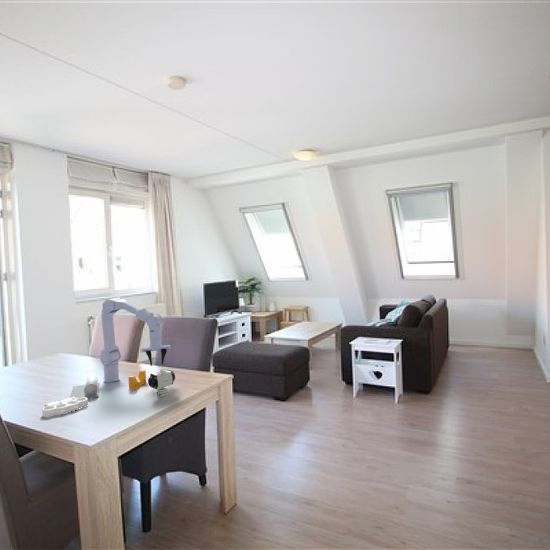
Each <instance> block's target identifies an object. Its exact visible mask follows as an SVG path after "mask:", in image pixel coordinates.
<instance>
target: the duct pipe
mask: <svg viewBox="0 0 550 550" xmlns="http://www.w3.org/2000/svg"><path fill="white" fill-rule="evenodd" d="M98 381H99V379H98V377H97V376H95V375H89V377H87V379H86V384H83V385H75V386H73V387H72V390H71V393H70V396H69V398H71V397H75V398H82V397H86V398H88V400H92V399H91V398H94V399H98V398H99V394H98V393H100V392H99V391H100V382H98ZM97 397H98V398H97Z"/></svg>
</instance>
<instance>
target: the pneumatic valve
mask: <svg viewBox="0 0 550 550" xmlns="http://www.w3.org/2000/svg"><path fill="white" fill-rule="evenodd" d="M175 380H176V375H175V372H174V371H173V370H169V369H164V370H163V369H160V371H158V372H153V373H150V376H149V377H148V378H147V385H148V386H149V387H150V388H152V389H154V390H156V392H155V394H156V396H157V397H160V398H163V397H167V396H168V395H169V388H168V387H169V386H171V385H174V383H175Z"/></svg>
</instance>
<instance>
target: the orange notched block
mask: <svg viewBox="0 0 550 550" xmlns="http://www.w3.org/2000/svg"><path fill="white" fill-rule="evenodd" d="M145 382H146V383H147V372H146V369H143V370H139V371H138V376H136V375H130V376H128V389H132V390H131V391H135V390H137V389H138V388H139V387H141V386H142V384H143V383H144V384H146V383H145ZM144 384H143V385H144ZM140 385H141V386H140ZM137 387H138V388H137ZM134 389H135V390H134Z"/></svg>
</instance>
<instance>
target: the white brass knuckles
mask: <svg viewBox="0 0 550 550" xmlns="http://www.w3.org/2000/svg"><path fill="white" fill-rule="evenodd" d="M87 405H88V406H89V399H88V398H86V397H82V398H75V397H71V398H70V397H68V398H66V399H60V400H57V401H53V402H49V403H47V402H46V403H45V404H44V407H43V408H41V409H42V411H41V412H42V413H41V414H42V418H52V417H55V416H61V414H63V415H66V414H69V413H72V412H71V411H74V412H76V411H75V410H77V411H78V409H79V408H81V407H84V408H86V407H85V406H87ZM88 406H87V407H88ZM81 409H82V408H81ZM79 410H80V409H79ZM68 412H69V413H68ZM65 413H66V414H65ZM54 415H55V416H54ZM51 416H52V417H51Z"/></svg>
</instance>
